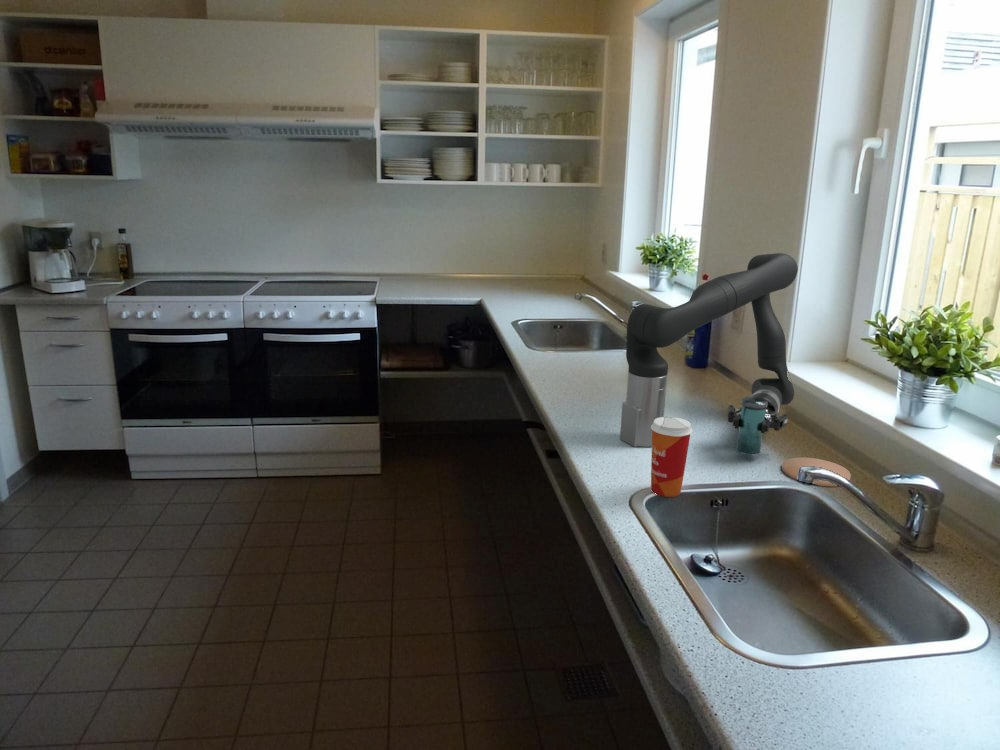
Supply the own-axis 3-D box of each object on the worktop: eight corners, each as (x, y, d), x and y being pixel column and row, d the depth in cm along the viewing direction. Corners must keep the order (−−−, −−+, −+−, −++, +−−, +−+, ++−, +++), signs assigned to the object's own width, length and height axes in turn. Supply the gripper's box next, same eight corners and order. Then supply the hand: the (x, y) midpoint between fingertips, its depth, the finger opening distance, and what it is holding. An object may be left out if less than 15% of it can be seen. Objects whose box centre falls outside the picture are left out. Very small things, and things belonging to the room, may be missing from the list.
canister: (748, 456, 167) (755, 405, 164) (730, 447, 172) (736, 398, 168) (766, 452, 169) (773, 402, 166) (748, 444, 174) (754, 395, 171)
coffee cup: (642, 482, 156) (648, 415, 152) (681, 483, 156) (688, 416, 152) (649, 499, 148) (655, 428, 144) (690, 500, 148) (697, 430, 144)
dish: (819, 490, 154) (820, 486, 154) (768, 467, 166) (768, 462, 166) (864, 480, 160) (865, 475, 160) (811, 457, 172) (812, 453, 172)
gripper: (734, 388, 183) (719, 405, 169) (795, 397, 177) (785, 416, 162) (730, 416, 185) (715, 436, 171) (791, 427, 179) (781, 448, 164)
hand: (750, 426), depth 167 cm, fingers closed on canister, 5 cm apart
